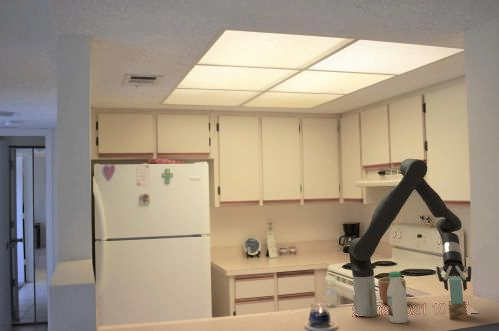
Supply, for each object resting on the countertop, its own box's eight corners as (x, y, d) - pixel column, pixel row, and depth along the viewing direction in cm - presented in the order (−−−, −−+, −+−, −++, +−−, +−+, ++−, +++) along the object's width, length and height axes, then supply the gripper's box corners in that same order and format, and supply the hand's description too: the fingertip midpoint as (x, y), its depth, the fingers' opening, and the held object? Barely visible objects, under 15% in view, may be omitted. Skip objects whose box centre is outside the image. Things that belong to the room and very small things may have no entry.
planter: (410, 305, 223) (408, 281, 224) (383, 307, 224) (381, 283, 224) (402, 298, 236) (401, 276, 236) (377, 300, 236) (375, 277, 236)
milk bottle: (410, 319, 203) (406, 270, 204) (406, 324, 197) (401, 274, 197) (391, 317, 207) (387, 270, 208) (386, 323, 201) (382, 273, 201)
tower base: (450, 319, 199) (448, 305, 199) (449, 315, 205) (448, 300, 205) (467, 320, 197) (466, 305, 197) (466, 315, 203) (465, 301, 203)
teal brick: (451, 304, 200) (449, 279, 200) (450, 301, 204) (448, 277, 204) (463, 304, 198) (461, 279, 198) (462, 301, 202) (460, 277, 202)
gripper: (433, 250, 211) (436, 284, 199) (470, 249, 206) (475, 284, 195) (434, 260, 216) (437, 294, 204) (470, 260, 211) (475, 294, 199)
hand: (455, 289), depth 199 cm, fingers open, 6 cm apart
